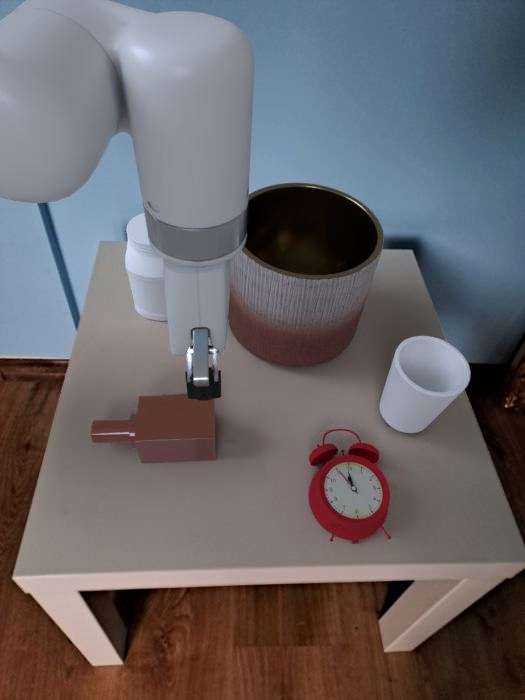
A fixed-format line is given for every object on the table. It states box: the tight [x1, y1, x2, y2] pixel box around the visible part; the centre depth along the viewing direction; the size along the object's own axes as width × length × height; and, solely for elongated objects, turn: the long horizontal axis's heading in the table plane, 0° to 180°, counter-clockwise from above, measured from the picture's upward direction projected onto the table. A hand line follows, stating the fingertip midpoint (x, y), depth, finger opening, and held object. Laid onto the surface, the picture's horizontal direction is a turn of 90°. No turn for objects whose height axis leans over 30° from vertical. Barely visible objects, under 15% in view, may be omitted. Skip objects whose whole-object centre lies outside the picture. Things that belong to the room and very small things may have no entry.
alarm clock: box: [308, 428, 392, 545], centre depth 60 cm, size 10×6×15 cm
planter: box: [228, 182, 385, 369], centre depth 72 cm, size 22×22×20 cm
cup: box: [379, 335, 471, 435], centre depth 64 cm, size 10×10×13 cm
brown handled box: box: [90, 393, 217, 464], centre depth 62 cm, size 7×9×16 cm
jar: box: [124, 212, 168, 322], centre depth 75 cm, size 12×10×15 cm
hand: (204, 356), depth 48 cm, fingers open, 9 cm apart
